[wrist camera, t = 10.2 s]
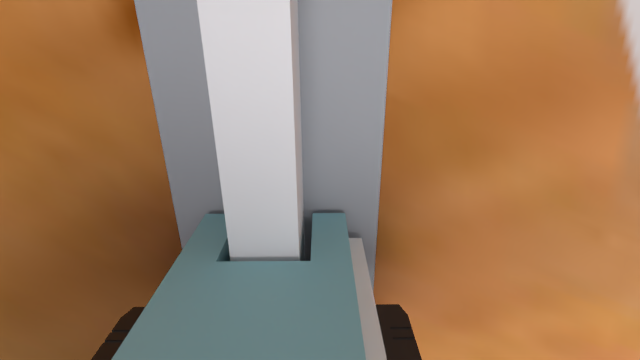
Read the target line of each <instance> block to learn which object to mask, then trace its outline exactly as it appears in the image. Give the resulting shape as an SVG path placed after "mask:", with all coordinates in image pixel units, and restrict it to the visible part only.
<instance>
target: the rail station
mask: <svg viewBox="0 0 640 360" xmlns="http://www.w3.org/2000/svg"><path fill="white" fill-rule="evenodd" d="M134 2H135V7H136V13H137V18H138V23H139V28H140V33H141V39H142V44H143V49H144V54H145V59H146V64H147V70H148V75H149V80H150V85H151V90H152V96H153V101H154V106H155V111H156V116H157V122H158V127H159V132H160V137H161V142H162V148H163V153H164V158H165V163H166V168H167V173H168V179H169V184H170V189H171V194H172V199H173V205H174V210H175V215H176V220H177V225H178V231H179V236H180V241H181V246H182V250H183V248H184V247H185V245H186V244H187V242H188V240H189V239H190V237H191V236H192V234H193V233H194V231H195V230H196V228H197V227H198V225H199V223H200V222H201V220H202V219H203V217H204V216H205V214H225V222H226V230H227V237H228V245H229V253H230V260H231V261H311V239H312V215H313V213H345V215H346V222H347V229H348V236H349V238H362V242H363V247H364V252H365V256H366V261H367V266H368V271H369V276H370V281H371V285H372V290H373V287H374V272H375V256H376V241H377V226H378V211H379V195H380V180H381V165H382V150H383V134H384V119H385V104H386V89H387V73H388V58H389V43H390V28H391V12H392V0H134Z"/></svg>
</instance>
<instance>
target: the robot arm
mask: <svg viewBox="0 0 640 360" xmlns="http://www.w3.org/2000/svg"><path fill="white" fill-rule="evenodd" d="M349 243H350V250H351V257H352V264H353V272H354V279H355V286H356V293H357V300H358V307H359V314H360V321H361V328H362V335H363V342H364V349H365V356H366V360H422V359H421V356H420V353H419V350H418V346H417V343H416V340H415V337H414V334H413V330H412V329H411V324H410V321H409V318H408V315H407V314H406V313H405V311H404V310H403V309H402V308H401V307H400V305H399V304H393V305H375V300H374V295H373V290H372V285H371V281H370V276H369V271H368V266H367V261H366V256H365V252H364V247H363V242H362V238H349ZM144 308H145V307H134V308H132V309H131V310H130V311H129V312H128V313H126V314H125V315H124V316H123V317H121V318H120V320H119V321H118V323H117V324H116V325H115V327H114V328H113V330H112V333H110V334H109V335H108V337H107V338H106V340H105V343H103V344H102V345H101V347H100V348H99V350H98V351H97V352H96V354H95V355H94V357H93V358H92V360H111V359H112V358H113V356H114V355H115V353H116V352H117V350H118V349H119V347H120V346H121V344H122V342H123V341H124V339H125V338H126V336H127V335H128V333H129V332H130V330H131V329H132V327H133V325H134V324H135V322H136V321H137V319H138V318H139V316H140V315H141V313H142V312H143V310H144Z"/></svg>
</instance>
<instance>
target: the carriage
mask: <svg viewBox="0 0 640 360" xmlns="http://www.w3.org/2000/svg"><path fill="white" fill-rule="evenodd" d="M111 360H366V356H365V349H364V342H363V335H362V328H361V321H360V314H359V307H358V300H357V293H356V286H355V279H354V272H353V264H352V257H351V250H350V243H349V236H348V229H347V222H346V215H345V213H313V215H312V239H311V261H231V260H230V253H229V245H228V237H227V230H226V222H225V214H205V216H204V217H203V219H202V220H201V222H200V223H199V225H198V227H197V228H196V230H195V231H194V233H193V234H192V236H191V237H190V239H189V240H188V242H187V244H186V245H185V247H184V248H183V250H182V251H181V253H180V254H179V256H178V257H177V259H176V261H175V262H174V264H173V265H172V267H171V268H170V270H169V271H168V273H167V274H166V276H165V278H164V279H163V281H162V282H161V284H160V285H159V287H158V288H157V290H156V291H155V293H154V295H153V296H152V298H151V299H150V301H149V302H148V304H147V305H146V307H145V308H144V310H143V312H142V313H141V315H140V316H139V318H138V319H137V321H136V322H135V324H134V325H133V327H132V329H131V330H130V332H129V333H128V335H127V336H126V338H125V339H124V341H123V342H122V344H121V346H120V347H119V349H118V350H117V352H116V353H115V355H114V356H113V358H112V359H111Z"/></svg>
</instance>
